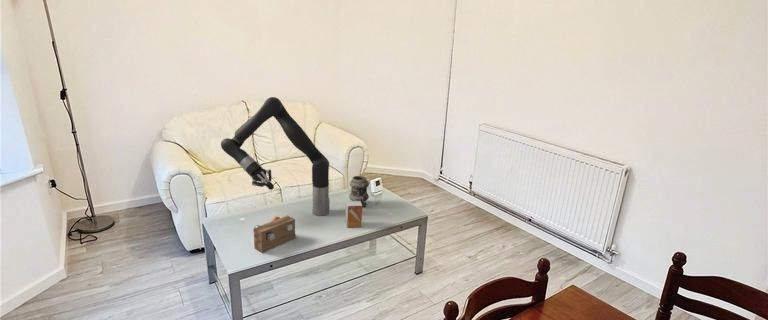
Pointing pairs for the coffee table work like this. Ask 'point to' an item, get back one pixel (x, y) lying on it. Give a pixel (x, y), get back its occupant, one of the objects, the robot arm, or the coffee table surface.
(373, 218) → the coffee table surface
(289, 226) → the red plunger
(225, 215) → the coffee table surface
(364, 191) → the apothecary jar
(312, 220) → the coffee table surface
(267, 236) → the grey plunger
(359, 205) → the small box
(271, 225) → the walnut housing
